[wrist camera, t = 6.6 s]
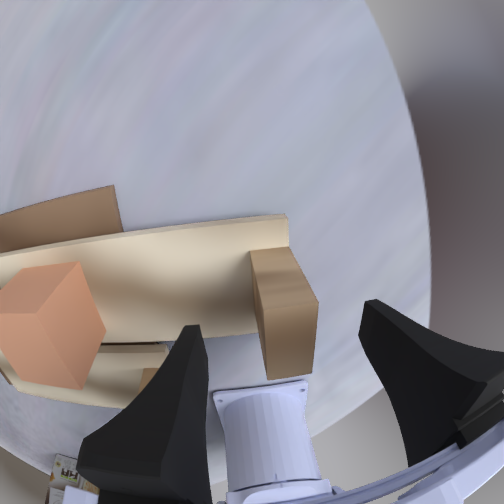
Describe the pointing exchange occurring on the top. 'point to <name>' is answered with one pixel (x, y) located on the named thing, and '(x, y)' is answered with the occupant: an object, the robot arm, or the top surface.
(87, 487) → the coffee box
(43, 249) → the slat
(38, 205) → the board
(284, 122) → the top surface
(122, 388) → the empty slat
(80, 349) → the block
